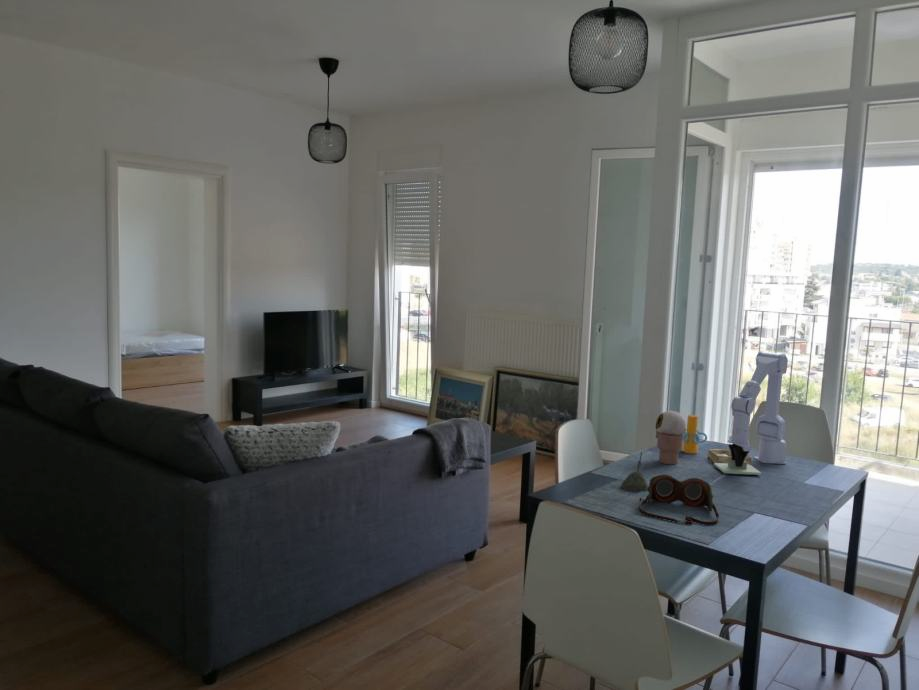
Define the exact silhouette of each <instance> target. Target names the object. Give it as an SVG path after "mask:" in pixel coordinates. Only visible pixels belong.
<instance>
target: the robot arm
mask: <svg viewBox="0 0 919 690" xmlns="http://www.w3.org/2000/svg"><path fill="white" fill-rule="evenodd" d="M755 365H756V366H755V370H754V372H753V374H752V377H751V379H750V381H746V382H745V384H744V385H743V387H742V389H741V391H740V393H739V394H738V396H736V397H733V399H732V402H731V405H730V406H731V407H730V408H731V411H732V413H731V415H732V429H731V430H732V431H731V435H730V436H729V437H728V440H727V442H728V443H729V444H728V448H729V449H728V450H730V451H731V456H732V460H735V464H736V466H737V467H742V465H743V463H744V460H745V458H746V456H747V455H748V454H749V453H750V451H751V445H750V444H749V436H750V435H749V434H750V422H751V414H752V413H754V410H755V405H756V401H757V398H758V396H759V394H760V392H761V390H762V388H761V386H760V385H761V384H762V383H763V382H764V380H765V378H766V377H767V376H768V377H767V387H766V388H767V389H766V398H765V407H764V414H762V415H760V416H759V417H758V418H757V423H756V425H755V432H756V435H757V436H758V438H759V443H758V444H759V446H758V454H757V456H753V457H754V459H756V460H757V461H758V462H760V463H762V464H776V465H777V464H780V465H781V464H783V465H786V464H787V462H786V456H787V448H788V447H787V443H786V440H784V438H785V436H786V433H787V427H786V420H785V419H784V418H782V416H780V415H779V413H780V402H781V395H782V383H783V375H785V374H787V370H788V369H787V368H788V357H787V355H786V354H785V353H778V352H770V351H763V350H759V351H758V353H757V354H756V357H755Z"/></svg>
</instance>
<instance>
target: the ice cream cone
mask: <svg viewBox="0 0 919 690" xmlns="http://www.w3.org/2000/svg"><path fill="white" fill-rule="evenodd" d="M685 429H687V422H686V419H685V418H684V416H683V415H682V414H681V413H679V412H678V411H675V410H665V411H663V412H661V413H660V414H659V415H658V417H657V419H656V422H655V430H656V431H655V432H656V435H655V439H656V446H657V449H659V454H658V462H659V463H661V464H665V465H676V464H677V463H678V458H679V452H680V451H681V450H682V448H683V440H682V439H683V433H684V431H685Z"/></svg>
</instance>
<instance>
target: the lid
mask: <svg viewBox="0 0 919 690" xmlns="http://www.w3.org/2000/svg"><path fill="white" fill-rule="evenodd" d="M713 466H714V467H715V468H717V469H718V470H720V471H721V473H723V474H728V475H747V476H748V475H749V476H750V475H751V476H753V475H755V476H756V475H757V476H759V475H760V476H761V475H762V472H761V471H760V470H759V469H757V468H755V467H754V466H753V465H752V464H751V465H749V464H747V462H746V461H744V463H743V465H742V467H737V466H736V464H735V460H728V464H727V463H714V462H713Z"/></svg>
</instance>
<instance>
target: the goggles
mask: <svg viewBox="0 0 919 690" xmlns="http://www.w3.org/2000/svg"><path fill="white" fill-rule="evenodd" d="M646 492H648V494H647V495H646V497H645V499H644V498H642V497H639V500H638V501H639V502H640V503H639V504H637V510H638V511H639V513H640V514H641V513H642V515H643V514H645V515H644V516H646V515H648V516H647V517H650V516H652V517H651V518H654V517H657V518H656V519H658V518H661V519H660V520H663V519H666V520H665V521H667V520H671V521H670V522H672V521H675V522H674V523H677V522H679V523H678V524H682V523H685V524H684V525H688V524H689V525H688V526H692V525H693V523H695V522H696V524H698V523H700V525H702V524H704V526H715V525H717V523H718V521H719V518H720V515H719V513H718V510H717V507H716V506H715V503H713V500H714V495H713V494H712V493H713V492H712V486H711V484H710V483H708V482H707V481H705V480H703V479H701V478H699V477H698V478H697V477H690V478H687V479H684V480H681V481H680V480H678V479H676V478H675V477H673V476H672V475H669V474H659V475H655V476H653V477H651V478H650V480H649V485H648V488H647V490H646ZM652 501H653V502H657V501H659V502H658V503H666V502H667V503H666V504H671V503H674V502H681V503H682V504H684V505H686V506H690V507H700V508H701V507H707V510H708V512H711V513H712V511H714V514H715V518H716V519H715V520H713V521H708V520H702V519H698V518H695V517H692V516H688V515H685V518H684V520H682V519H679V518H678V519H676V518H672V517H667V516H663V515H658V514H656V513H652V512H649V511H647V510H644V509H642V508H643V505H644V504H646V503H647V504H648V505H652V504H651V503H652ZM686 520H687V521H686ZM692 521H693V522H692ZM714 524H715V525H714Z"/></svg>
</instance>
